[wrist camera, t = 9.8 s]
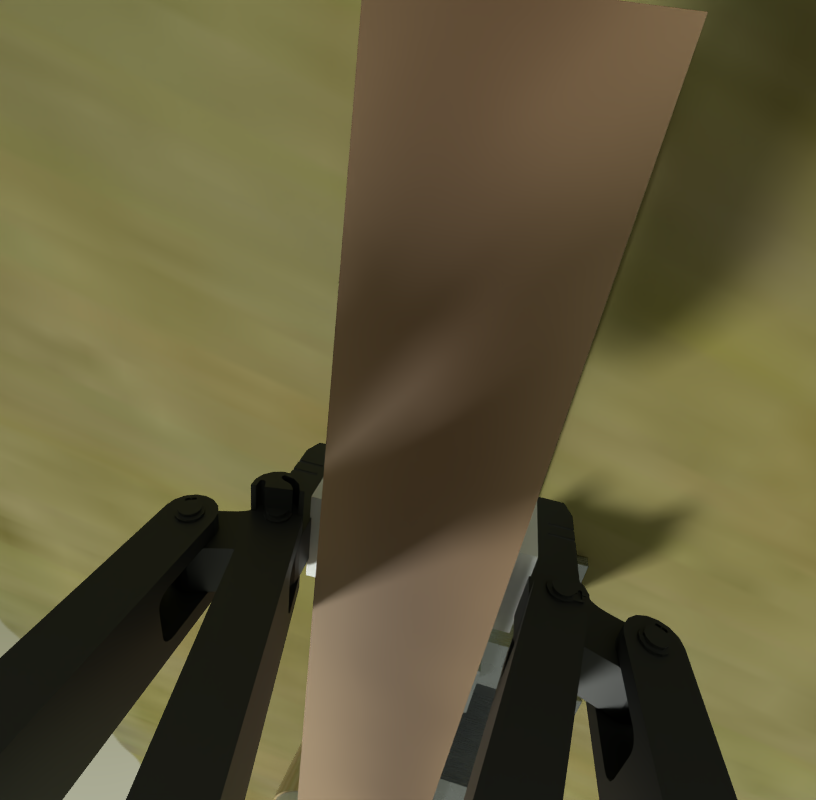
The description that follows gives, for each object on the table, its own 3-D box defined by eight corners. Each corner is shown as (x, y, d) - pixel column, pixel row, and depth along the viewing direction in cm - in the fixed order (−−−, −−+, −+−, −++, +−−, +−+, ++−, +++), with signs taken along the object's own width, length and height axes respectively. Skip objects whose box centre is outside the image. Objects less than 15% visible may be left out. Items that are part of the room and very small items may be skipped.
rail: (352, 655, 22) (296, 816, 16) (441, 51, 11) (364, -32, 6) (441, 682, 21) (412, 856, 16) (622, 77, 11) (707, 12, 6)
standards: (425, 704, 46) (401, 833, 37) (474, 528, 36) (457, 652, 27) (510, 730, 45) (506, 869, 37) (587, 558, 35) (606, 696, 26)
